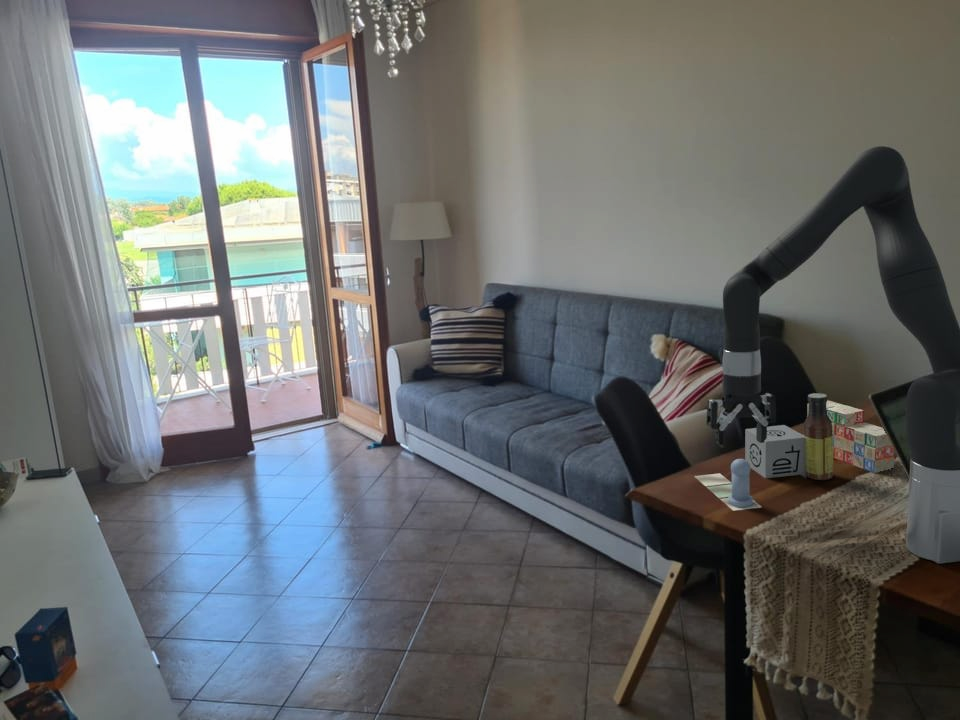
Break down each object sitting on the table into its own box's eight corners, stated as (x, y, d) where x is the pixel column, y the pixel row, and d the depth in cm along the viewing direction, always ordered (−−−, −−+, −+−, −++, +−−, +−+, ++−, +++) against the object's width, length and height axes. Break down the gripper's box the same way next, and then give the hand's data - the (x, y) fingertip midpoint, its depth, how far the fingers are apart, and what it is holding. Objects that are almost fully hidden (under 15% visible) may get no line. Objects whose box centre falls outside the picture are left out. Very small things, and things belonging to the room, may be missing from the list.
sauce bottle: (827, 471, 169) (829, 390, 165) (837, 481, 163) (840, 397, 159) (798, 472, 170) (799, 392, 166) (808, 482, 164) (809, 399, 160)
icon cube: (806, 477, 167) (806, 437, 165) (765, 482, 166) (765, 441, 164) (783, 463, 176) (784, 424, 174) (745, 467, 176) (745, 429, 174)
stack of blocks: (894, 469, 168) (897, 419, 165) (874, 474, 166) (876, 423, 163) (825, 443, 188) (826, 398, 185) (805, 447, 186) (806, 402, 183)
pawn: (757, 506, 151) (757, 461, 149) (734, 508, 151) (734, 464, 149) (746, 497, 156) (746, 454, 154) (724, 499, 156) (724, 456, 154)
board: (764, 511, 151) (764, 507, 150) (732, 515, 150) (732, 511, 150) (720, 476, 171) (720, 472, 171) (692, 479, 170) (692, 475, 170)
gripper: (765, 363, 152) (764, 435, 155) (701, 369, 151) (701, 441, 154) (783, 371, 145) (782, 446, 148) (716, 377, 143) (716, 453, 147)
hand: (741, 444), depth 151 cm, fingers open, 8 cm apart
